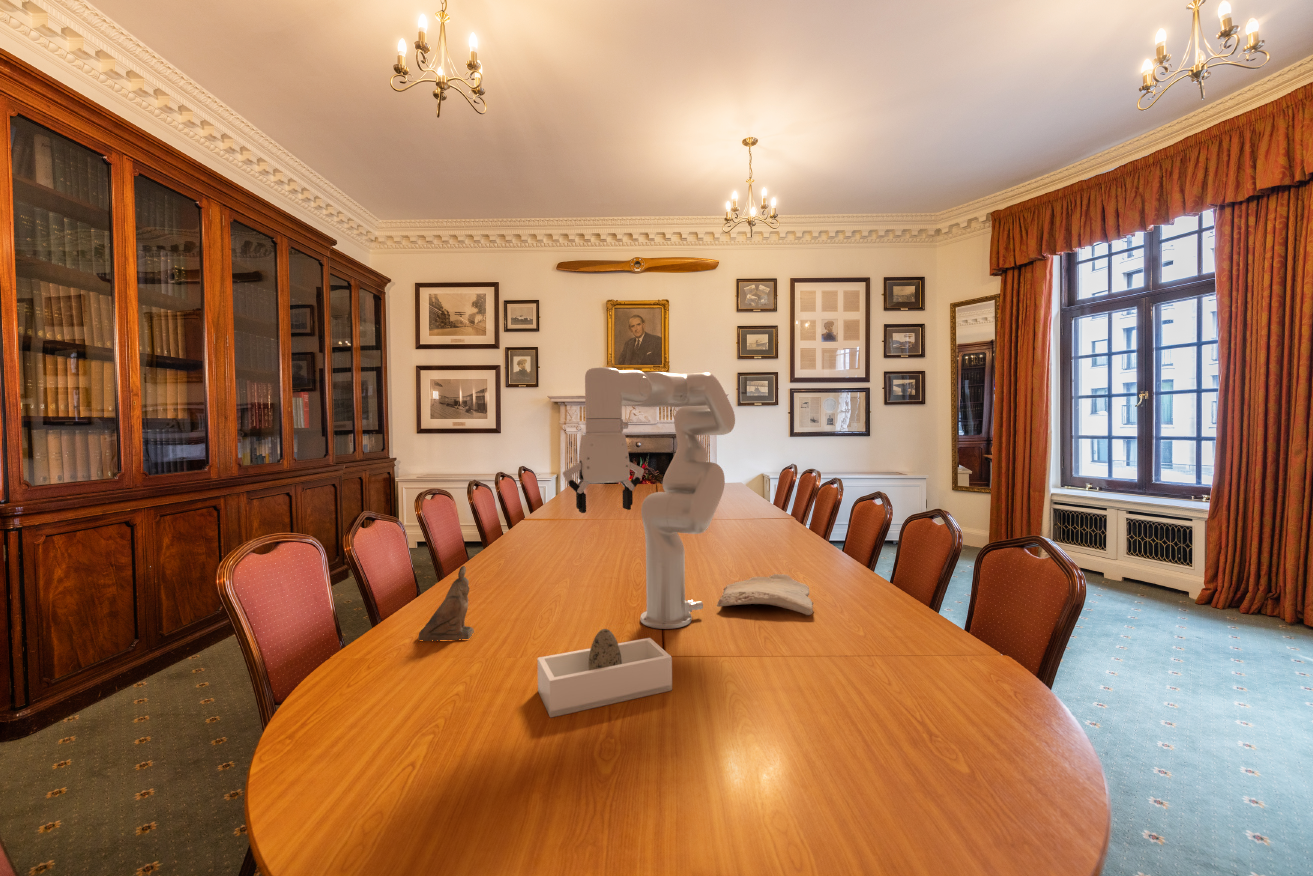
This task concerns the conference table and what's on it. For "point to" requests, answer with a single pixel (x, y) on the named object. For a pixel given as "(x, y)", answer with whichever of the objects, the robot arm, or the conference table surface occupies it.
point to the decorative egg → (604, 651)
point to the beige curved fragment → (769, 593)
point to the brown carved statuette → (450, 614)
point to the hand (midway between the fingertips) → (604, 510)
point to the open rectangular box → (603, 677)
